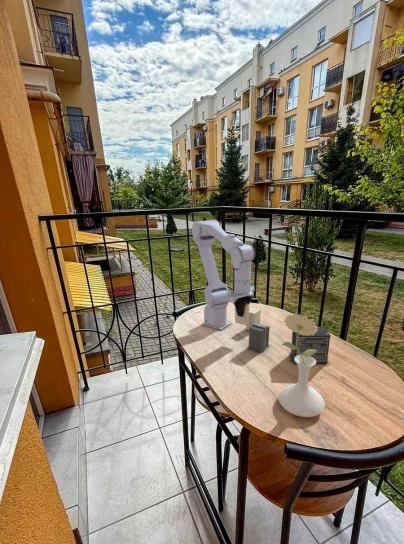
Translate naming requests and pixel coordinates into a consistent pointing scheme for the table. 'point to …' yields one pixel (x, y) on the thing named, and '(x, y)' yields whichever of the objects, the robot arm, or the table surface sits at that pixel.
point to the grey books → (258, 337)
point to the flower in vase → (301, 374)
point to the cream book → (245, 318)
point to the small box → (313, 345)
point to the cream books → (253, 317)
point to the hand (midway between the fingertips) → (241, 314)
